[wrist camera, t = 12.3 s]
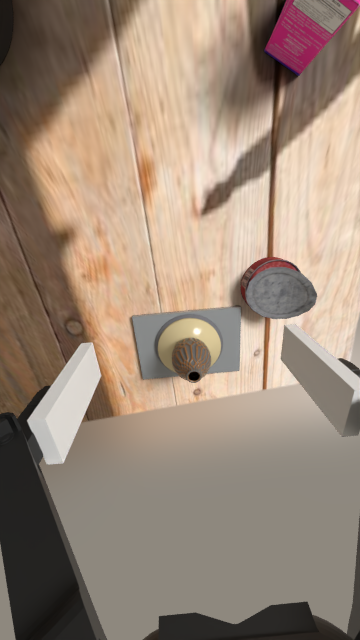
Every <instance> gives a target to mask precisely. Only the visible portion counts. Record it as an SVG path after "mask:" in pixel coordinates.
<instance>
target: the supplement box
mask: <svg viewBox="0 0 360 640" xmlns="http://www.w3.org/2000/svg"><path fill="white" fill-rule="evenodd" d="M359 6H360V0H286V2H285V5H284V7H283V9H282V12H281V14H280V16H279V19H278V21H277V23H276V25H275V28H274V30H273V32H272V35H271V37H270V39H269V41H268V43H267V45H266V47H265V50H264V52H265V53H267V54H268V55H270V56H271V57H272V58H274V59H275V60H277V61H278V62H280V63H281V64H282V65H284V66H285V67H287V68H288V69H289V70H291V71H292V72H294V73H295V74H296V75H297V76H299V75H300V74H301V73H302V72H303V70H304V69H305V68H306V67H307V66H308V65H309V63H310V62H311V61H312V60H313V59H314V58H315V57H316V55H317V54H318V53H319V52H320V51H321V50H322V48H323V47H324V46H325V45H326V44H327V43H328V42H329V40H330V39H331V38H332V37H333V36H334V35H335V34H336V32H337V31H338V30H339V29H340V28H341V27H342V26H343V24H344V23H345V22H346V21H347V20H348V19H349V17H350V16H351V15H352V14H353V13H354V12H355V11H356V9H357V8H358V7H359Z"/></svg>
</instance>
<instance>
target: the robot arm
mask: <svg viewBox="0 0 360 640" xmlns="http://www.w3.org/2000/svg"><path fill="white" fill-rule="evenodd" d="M12 32H13V8H12V0H0V64H1V63H2V61H3V60H4V58H5V56H6V54H7V52H8V49H9V46H10V43H11V38H12ZM281 360H282V361H283V363H284V364H285V365H286V366H287V368H288V369H289V370H290V372H291V373H292V374H293V375H294V377H295V378H296V379H297V380H298V382H299V383H300V384H301V385H302V387H303V388H304V389H305V391H306V392H307V393H308V394H309V396H310V397H311V398H312V399H313V401H314V402H315V403H316V404H317V406H318V407H319V408H320V409H321V411H322V412H323V413H324V414H325V416H326V417H327V418H328V419H329V421H330V422H331V423H332V425H333V426H334V427H335V429H336V430H337V431H338V432H339V434H340V435H341V436H342V437H345V436H356V435H358V434H359V431H360V370H359V368H357V367H356V366H355V365H354V364H352V363H351V362H349V361H347V360H344V359H342V358H339V359H337V358H336V357H334V356H333V355H332V354H331V353H330V352H328V351H327V350H326V349H325V348H324V347H322V346H321V345H320V344H319V343H318V342H316V341H315V340H314V339H313V338H312V337H311V336H309V335H308V334H307V333H306V332H305V331H303V330H302V329H301V328H300V327H299V326H297V325H296V324H290V325H284V334H283V343H282V352H281ZM100 377H101V373H100V369H99V366H98V362H97V358H96V354H95V350H94V346H93V343H81V344H80V346H79V347H78V349H77V350H76V352H75V353H74V354H73V356H72V357H71V359H70V360H69V362H68V363H67V364H66V366H65V367H64V369H63V370H62V372H61V373H60V374H59V376H58V377H57V379H56V380H55V382H54V383H53V384H52V386H45V387H44V388H42V389H41V390H40V391H39V392H37V393H36V395H35V396H34V397H33V399H32V401H30V403H29V404H28V405H27V407H26V408H25V409H24V411H23V412H22V413H21V415H20V416H19V417H18V419H17V418H16V416H15V415H14V414H13V413H9V412H7V413H2V414H0V544H1V550H2V556H3V563H4V569H5V575H6V582H7V588H8V594H9V600H10V607H11V613H12V619H13V625H14V632H15V638H16V640H107V638H106V636H105V634H104V631H103V629H102V627H101V624H100V621H99V619H98V616H97V614H96V611H95V608H94V606H93V603H92V601H91V598H90V595H89V593H88V590H87V588H86V585H85V583H84V580H83V577H82V575H81V572H80V569H79V567H78V564H77V562H76V559H75V557H74V554H73V552H72V549H71V546H70V543H69V541H68V538H67V536H66V533H65V531H64V528H63V525H62V523H61V520H60V517H59V515H58V512H57V510H56V507H55V505H54V502H53V500H52V497H51V494H50V492H49V489H48V486H47V484H46V481H45V479H44V476H43V474H42V471H41V469H40V466H39V463H40V461H41V459H42V457H44V459H45V461H46V463H47V465H48V464H59V463H64V461H65V458H66V456H67V453H68V451H69V449H70V447H71V444H72V442H73V440H74V437H75V435H76V433H77V430H78V428H79V426H80V424H81V421H82V419H83V417H84V414H85V412H86V410H87V407H88V405H89V403H90V400H91V398H92V396H93V393H94V391H95V389H96V386H97V384H98V382H99V380H100ZM143 640H360V518H359V532H358V545H357V556H356V569H355V582H354V595H353V604H352V610H351V615H350V619H349V624H348V631H347V634H346V633H344V632H343V631H342V630H340V629H339V628H337V627H336V626H334V625H333V624H331V623H329V622H328V621H326V620H324V619H322V618H319V617H317V616H314V615H312V613H311V610H310V608H309V605H308V602H299V603H289V604H279V605H271V606H269V607H267V608H265V609H264V610H262V611H260V612H258V613H257V614H255V615H253V616H251V617H250V618H248V619H246V620H245V621H242V622H241V623H239V624H231V623H227V622H224V621H221V620H218V619H214V618H211V617H208V616H205V615H201V614H198V613H187V614H177V615H167V616H159V629H158V630H156V631H154V632H152V633H151V634H149V635H148V636H147V637H145V638H144V639H143Z"/></svg>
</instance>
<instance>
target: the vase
mask: <svg viewBox="0 0 360 640" xmlns="http://www.w3.org/2000/svg"><path fill="white" fill-rule="evenodd" d="M172 365H173V368H174V370H175V372H176V373H177V374H178V375H179V376H180V377H181V378H183V379H185V380H188V381H189V382H192V383H196V382H198V381H200V379H201V378H203V377H204V376H205V375H206V374H207V372H208V371H209V369H210V365H211V354H210V351H209V349H208V347H207V346H206V344H205V343H204V342H202V341H201V340H199V339H197V338H193V337H189V338H185V339H182V340H181V341H179V342H178V343H177V344H176V346H175V347H174V349H173V352H172Z"/></svg>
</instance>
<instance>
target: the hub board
mask: <svg viewBox="0 0 360 640" xmlns="http://www.w3.org/2000/svg"><path fill="white" fill-rule="evenodd" d="M132 320H133V325H134V331H135V337H136V342H137V348H138V354H139V359H140V365H141V371H142V376H143V379H154V378H165V377H175V376H179V375H178V374H177V373H176V372H175V370H174V368H173V365H172V352H173V349H174V347H175V346H176V344H177V343H178V342H179V341H181V340H182V339H185V338H189V337H193V338H197V339H199V340H201V341H202V342H204V343H205V344H206V346H207V347H208V349H209V351H210V354H211V365H210V369H209V371H208V372H207V374H208V373H219V372H230V371H239V367H240V327H241V307H240V306H233V307H222V308H211V309H200V310H188V311H177V312H166V313H155V314H144V315H133V316H132Z"/></svg>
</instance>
